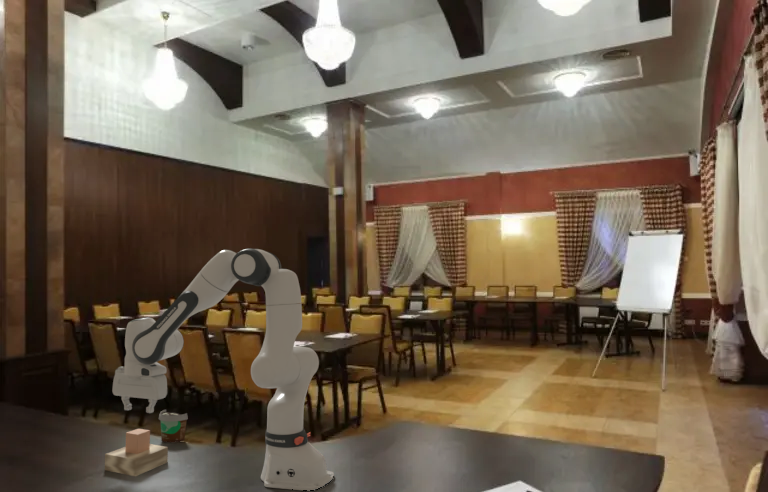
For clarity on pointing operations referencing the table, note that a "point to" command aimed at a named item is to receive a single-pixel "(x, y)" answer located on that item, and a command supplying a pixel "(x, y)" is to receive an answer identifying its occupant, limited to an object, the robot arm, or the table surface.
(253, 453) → the table surface
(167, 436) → the food container
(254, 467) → the table surface
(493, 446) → the table surface
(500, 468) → the table surface
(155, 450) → the birch plinth
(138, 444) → the terracotta block
